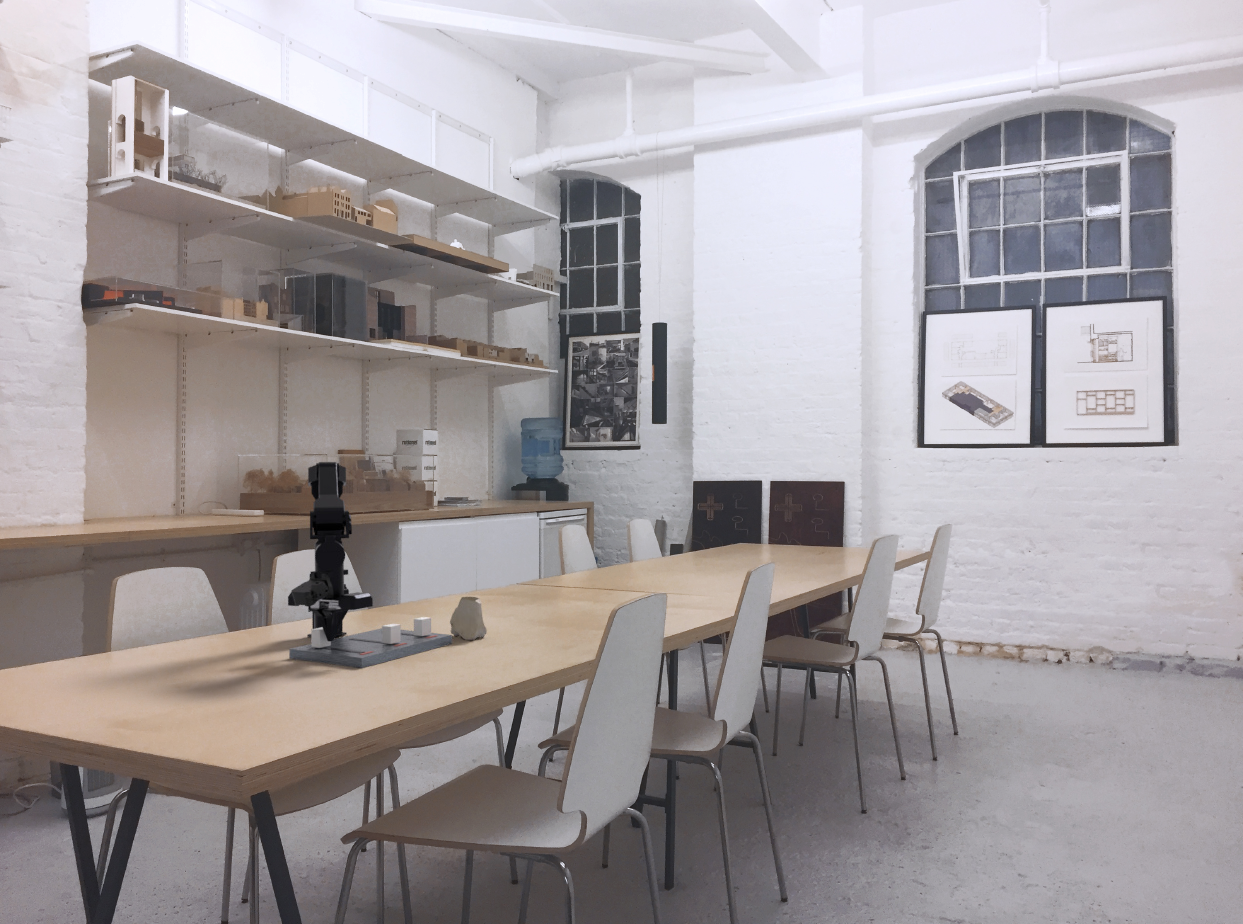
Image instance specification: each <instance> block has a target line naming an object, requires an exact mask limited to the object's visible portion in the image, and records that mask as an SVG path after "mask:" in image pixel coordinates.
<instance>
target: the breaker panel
mask: <svg viewBox="0 0 1243 924" xmlns="http://www.w3.org/2000/svg"><path fill="white" fill-rule="evenodd" d="M452 644H453V634H446V633H437V632H436V633H435V632H431V634H429V635H425V636H416V635H414V630H409V629H407V630H406V629H401V642H397V643H393V644H387V643H382V627H381V628H377V629H372V630H368V631H363V632H359V633H355V634H350V635H344V636H342V637H341V636H339V637H335V638H334V640H333V641H331V645H330V646H326V647H321V648H317V647H311V643H309V644H305V645H300V646H296V647H295V646H294V647H291V648H289V649H288V650H289V651H288V653H289V660H290V659H291V660H297V661H307V662H312V663H313V662H314V663H321V664H329V665H336V666H342V667H343V666H345V667H351V668H357V669H363V668H368V667H370V666H374V665H378V664H382V663H386V662H390V661H393V660H397V659H401V658H403V657H404V658H405V657H408V656H411V655H416V654H420V653H423V652H427V651H431V650H434V649H438V648H442V647H446V646H449V645H452Z"/></svg>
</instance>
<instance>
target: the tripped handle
mask: <svg viewBox="0 0 1243 924" xmlns="http://www.w3.org/2000/svg"><path fill="white" fill-rule="evenodd" d="M310 632H311V633H310V634H311V637H310V638H311V639H310V640H311V641H310V644H311V647H317V648H321V647H326V646H330V645H331V642H329V641H327V638H326V635H325V633H324V630H323V627H321V628H316V629H311V631H310Z"/></svg>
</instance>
